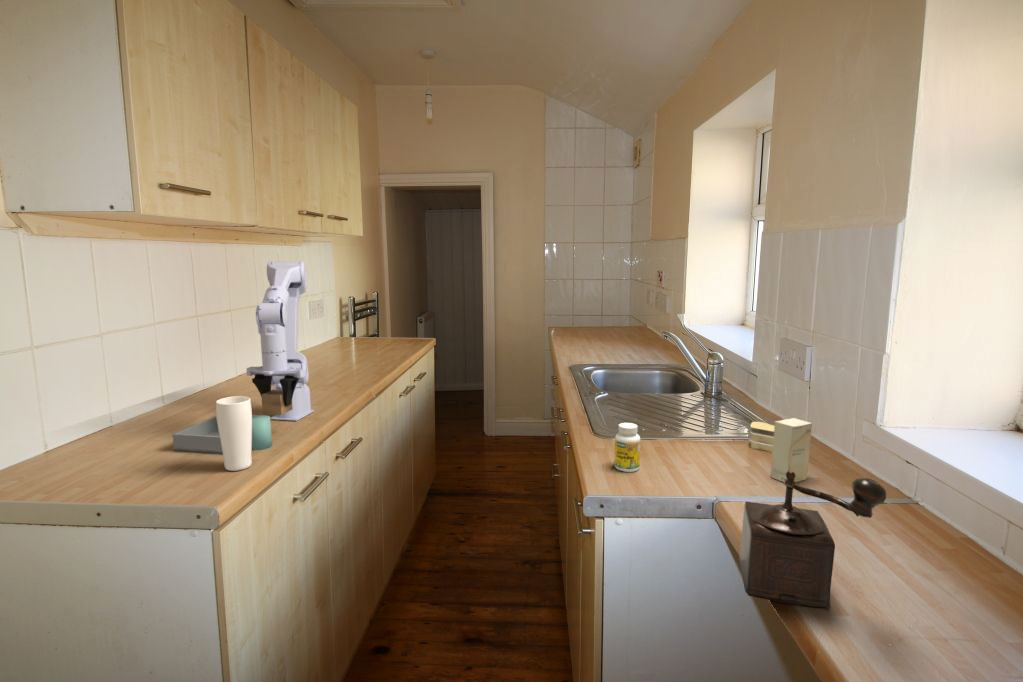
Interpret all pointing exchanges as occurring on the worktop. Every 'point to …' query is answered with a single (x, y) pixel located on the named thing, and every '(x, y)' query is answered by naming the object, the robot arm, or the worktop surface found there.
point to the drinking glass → (235, 431)
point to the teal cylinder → (261, 432)
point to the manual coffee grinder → (796, 545)
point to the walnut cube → (274, 403)
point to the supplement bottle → (627, 448)
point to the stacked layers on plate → (762, 436)
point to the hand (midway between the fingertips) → (277, 404)
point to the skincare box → (791, 449)
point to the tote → (200, 438)
